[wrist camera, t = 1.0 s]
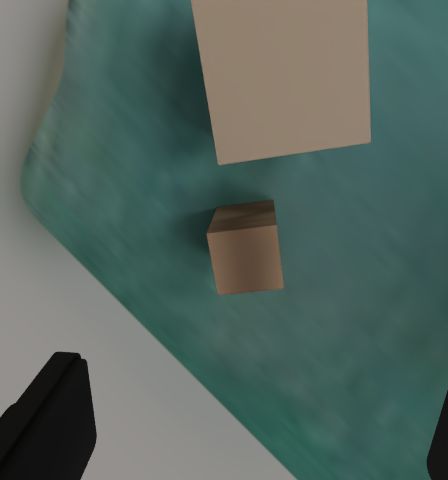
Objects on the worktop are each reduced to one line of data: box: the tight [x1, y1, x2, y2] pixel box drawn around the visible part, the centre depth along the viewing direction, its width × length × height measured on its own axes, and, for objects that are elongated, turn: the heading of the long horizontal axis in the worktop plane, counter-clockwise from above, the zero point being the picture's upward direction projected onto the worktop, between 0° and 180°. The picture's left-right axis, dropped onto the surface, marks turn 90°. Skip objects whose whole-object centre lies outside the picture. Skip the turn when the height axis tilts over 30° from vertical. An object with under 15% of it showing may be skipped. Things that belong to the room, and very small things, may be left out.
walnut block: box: [206, 200, 284, 295], centre depth 30 cm, size 5×5×7 cm
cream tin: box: [191, 0, 371, 165], centre depth 25 cm, size 9×9×8 cm
